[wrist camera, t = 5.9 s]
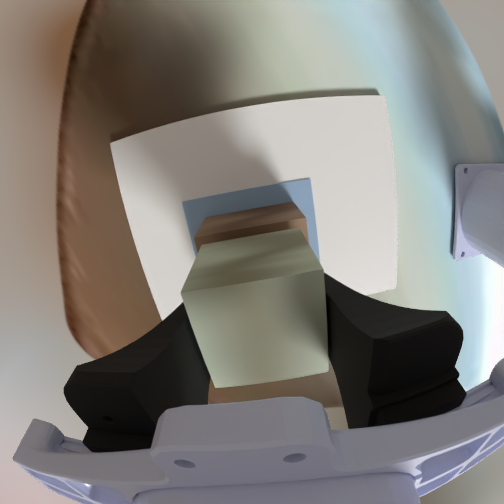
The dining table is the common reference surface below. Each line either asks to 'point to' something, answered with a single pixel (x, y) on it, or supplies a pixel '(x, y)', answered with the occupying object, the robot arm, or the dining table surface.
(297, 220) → the walnut base
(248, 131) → the board
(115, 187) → the dining table surface
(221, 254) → the sage block
